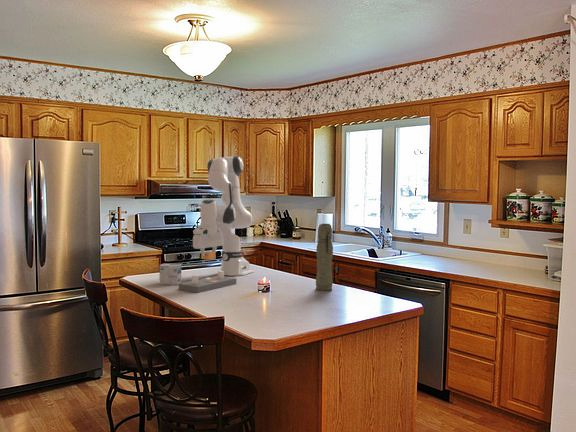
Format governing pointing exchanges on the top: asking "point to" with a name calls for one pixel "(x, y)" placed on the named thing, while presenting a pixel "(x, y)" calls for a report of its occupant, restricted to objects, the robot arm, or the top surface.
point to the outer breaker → (194, 279)
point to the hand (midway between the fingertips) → (208, 255)
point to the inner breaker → (220, 274)
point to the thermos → (324, 258)
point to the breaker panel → (207, 284)
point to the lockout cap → (209, 255)
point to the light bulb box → (170, 274)
